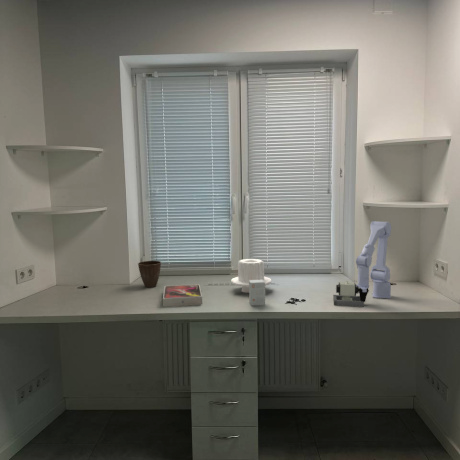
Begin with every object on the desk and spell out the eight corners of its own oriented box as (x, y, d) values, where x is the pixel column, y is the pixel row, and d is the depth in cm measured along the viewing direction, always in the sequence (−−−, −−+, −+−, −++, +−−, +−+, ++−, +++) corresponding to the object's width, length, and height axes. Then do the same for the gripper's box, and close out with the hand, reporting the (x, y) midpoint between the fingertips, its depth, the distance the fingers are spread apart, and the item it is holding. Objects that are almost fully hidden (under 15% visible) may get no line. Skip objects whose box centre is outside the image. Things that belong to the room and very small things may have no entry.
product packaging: (199, 292, 242) (199, 284, 242) (202, 305, 215) (202, 296, 214) (164, 293, 240) (164, 285, 239) (163, 307, 212) (162, 298, 211)
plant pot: (135, 288, 250) (134, 264, 249) (144, 283, 265) (143, 260, 263) (157, 289, 248) (156, 265, 246) (165, 283, 262) (164, 260, 261)
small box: (263, 301, 218) (263, 279, 216) (265, 305, 211) (265, 282, 210) (249, 302, 217) (248, 279, 215) (250, 305, 210) (250, 282, 209)
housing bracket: (361, 300, 218) (361, 296, 217) (363, 306, 206) (364, 302, 206) (333, 298, 221) (333, 294, 221) (333, 305, 209) (334, 300, 209)
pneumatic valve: (358, 304, 210) (358, 283, 209) (336, 303, 212) (336, 282, 211) (357, 301, 215) (357, 280, 214) (335, 300, 218) (335, 280, 216)
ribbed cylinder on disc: (226, 294, 234) (225, 263, 232) (237, 284, 258) (237, 256, 255) (266, 297, 226) (266, 265, 224) (274, 286, 250) (274, 258, 248)
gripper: (354, 274, 218) (354, 297, 220) (356, 280, 204) (356, 305, 205) (367, 274, 216) (367, 298, 218) (371, 280, 202) (370, 305, 204)
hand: (362, 301), depth 212 cm, fingers closed, pressing on pneumatic valve
